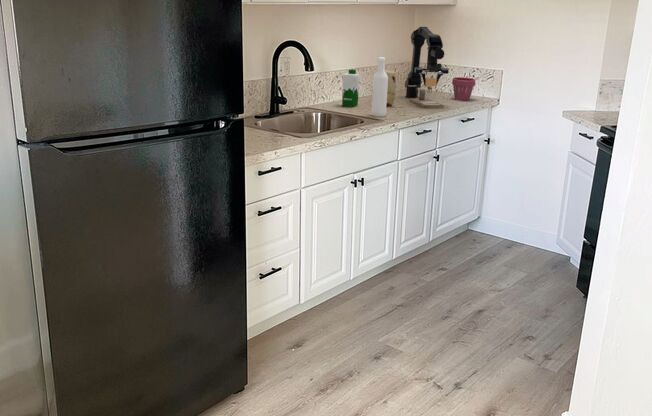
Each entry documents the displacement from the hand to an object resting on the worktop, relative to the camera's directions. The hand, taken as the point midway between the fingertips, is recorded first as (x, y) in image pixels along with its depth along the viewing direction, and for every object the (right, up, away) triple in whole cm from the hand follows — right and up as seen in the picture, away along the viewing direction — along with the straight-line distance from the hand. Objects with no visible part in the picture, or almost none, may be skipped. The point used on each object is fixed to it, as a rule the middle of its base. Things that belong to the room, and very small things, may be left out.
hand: (430, 85), depth 361 cm
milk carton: (-47, -12, -3) cm, 48 cm away
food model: (-25, -12, +1) cm, 28 cm away
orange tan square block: (0, 0, 0) cm, 0 cm away
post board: (-1, -9, +9) cm, 13 cm away
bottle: (-32, -22, -28) cm, 48 cm away
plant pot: (+25, -3, +29) cm, 38 cm away
